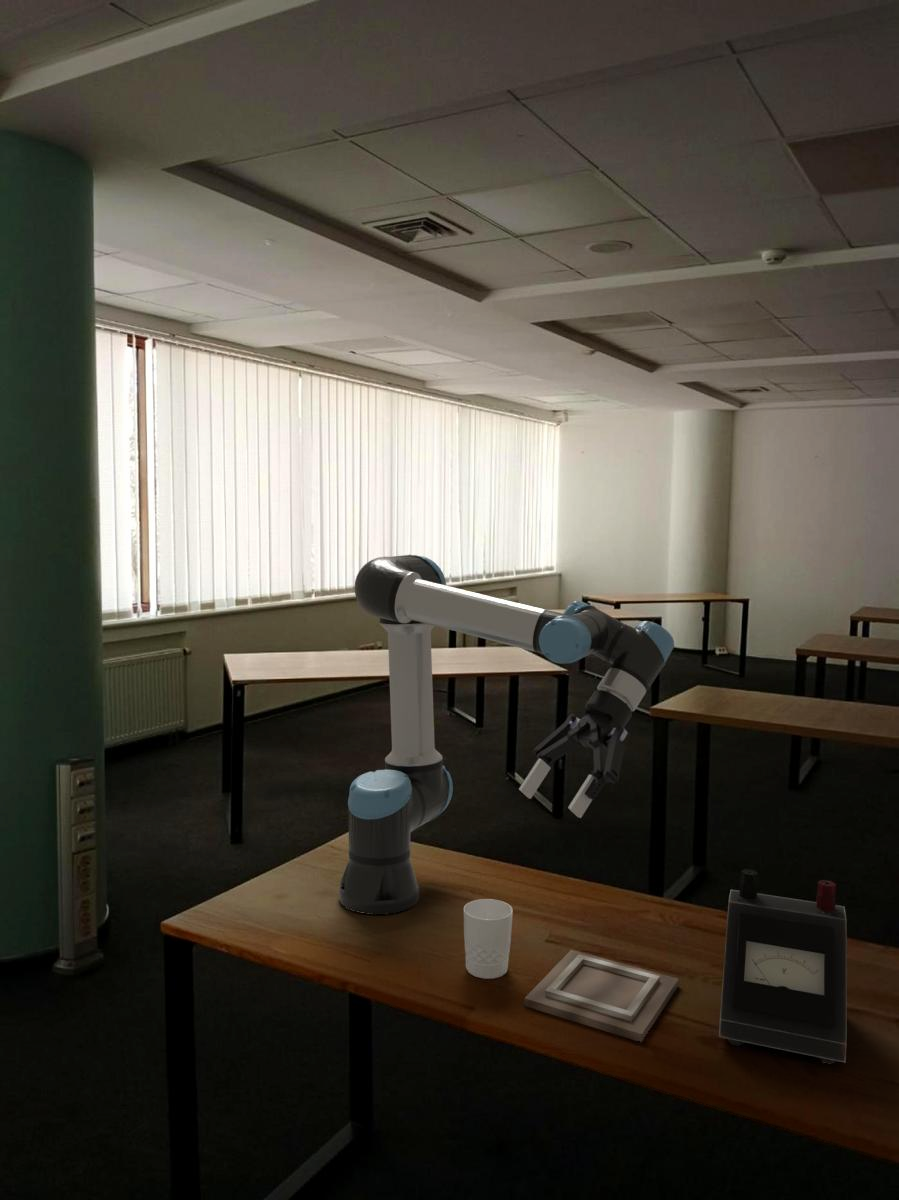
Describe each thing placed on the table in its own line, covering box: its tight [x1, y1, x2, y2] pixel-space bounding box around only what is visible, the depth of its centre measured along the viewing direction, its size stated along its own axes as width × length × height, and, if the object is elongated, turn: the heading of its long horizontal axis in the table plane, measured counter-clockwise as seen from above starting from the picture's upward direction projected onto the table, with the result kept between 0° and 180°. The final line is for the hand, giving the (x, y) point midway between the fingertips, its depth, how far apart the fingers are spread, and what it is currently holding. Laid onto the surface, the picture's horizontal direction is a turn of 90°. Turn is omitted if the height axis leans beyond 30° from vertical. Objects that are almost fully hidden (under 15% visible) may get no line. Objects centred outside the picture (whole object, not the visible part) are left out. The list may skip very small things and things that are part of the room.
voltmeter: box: [718, 868, 848, 1063], centre depth 130 cm, size 16×16×20 cm
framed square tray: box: [523, 949, 680, 1043], centre depth 139 cm, size 18×18×2 cm
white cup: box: [463, 898, 514, 980], centre depth 146 cm, size 8×8×10 cm
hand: (548, 803), depth 151 cm, fingers open, 13 cm apart
